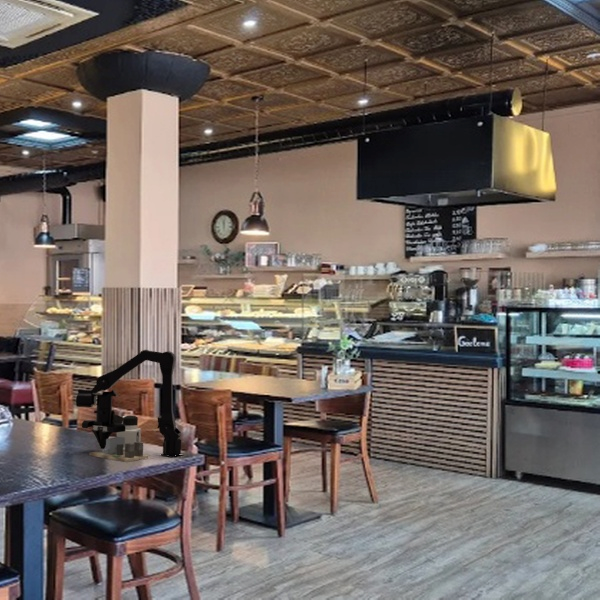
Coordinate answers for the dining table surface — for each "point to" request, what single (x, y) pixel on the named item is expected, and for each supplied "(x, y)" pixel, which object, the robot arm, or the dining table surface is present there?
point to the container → (130, 430)
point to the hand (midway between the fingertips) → (102, 448)
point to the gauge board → (125, 453)
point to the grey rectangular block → (113, 445)
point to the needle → (119, 449)
